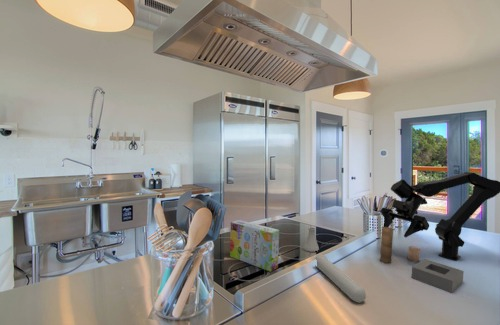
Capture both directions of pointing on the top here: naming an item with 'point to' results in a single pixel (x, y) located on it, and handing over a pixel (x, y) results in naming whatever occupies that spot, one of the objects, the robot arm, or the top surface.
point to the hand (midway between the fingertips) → (393, 233)
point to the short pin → (413, 254)
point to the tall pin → (386, 245)
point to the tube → (341, 279)
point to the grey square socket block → (437, 275)
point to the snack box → (254, 244)
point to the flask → (311, 241)
